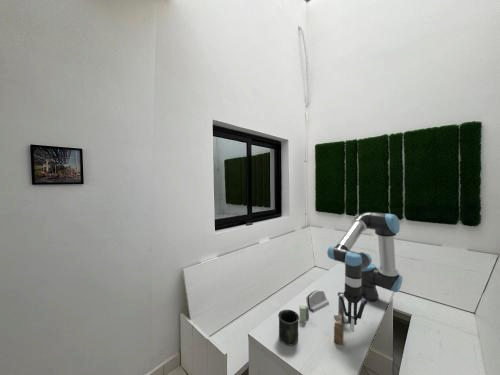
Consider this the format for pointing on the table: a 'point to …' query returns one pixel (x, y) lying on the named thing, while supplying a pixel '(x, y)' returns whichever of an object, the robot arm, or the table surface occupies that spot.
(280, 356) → the table surface
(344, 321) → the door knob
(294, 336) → the dark green cylindrical container
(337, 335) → the wooden mallet
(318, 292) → the grey arched slab
